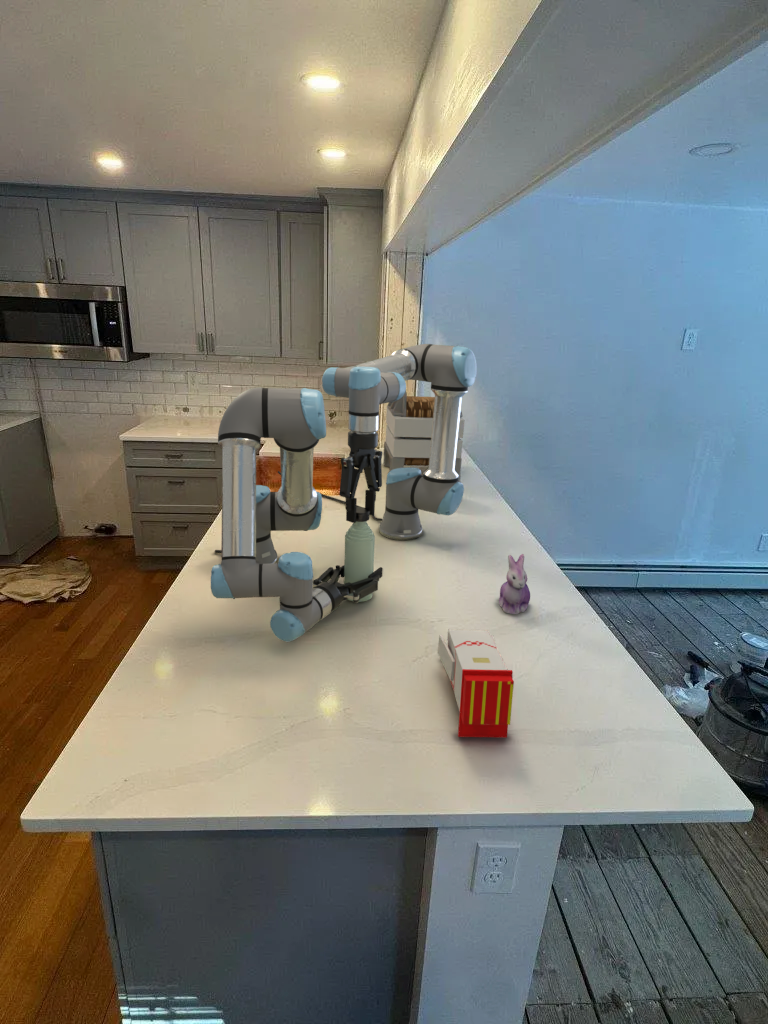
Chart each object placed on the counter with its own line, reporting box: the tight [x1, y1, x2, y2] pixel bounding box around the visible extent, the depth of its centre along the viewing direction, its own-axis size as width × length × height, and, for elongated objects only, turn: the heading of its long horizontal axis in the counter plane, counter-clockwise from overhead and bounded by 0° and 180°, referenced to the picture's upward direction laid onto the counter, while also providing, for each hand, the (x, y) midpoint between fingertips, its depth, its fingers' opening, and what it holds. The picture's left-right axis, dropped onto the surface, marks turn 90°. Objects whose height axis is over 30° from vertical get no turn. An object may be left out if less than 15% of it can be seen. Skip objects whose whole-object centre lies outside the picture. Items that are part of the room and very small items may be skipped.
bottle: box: [343, 521, 376, 603], centre depth 152 cm, size 8×8×24 cm
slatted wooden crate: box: [383, 390, 465, 482], centre depth 268 cm, size 34×33×41 cm
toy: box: [437, 628, 515, 738], centre depth 117 cm, size 12×13×30 cm
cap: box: [356, 506, 371, 522], centre depth 148 cm, size 5×5×2 cm
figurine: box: [498, 553, 531, 615], centre depth 151 cm, size 9×10×15 cm
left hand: (367, 568), depth 158 cm, fingers closed on bottle, 8 cm apart
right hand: (360, 517), depth 149 cm, fingers open, 7 cm apart
